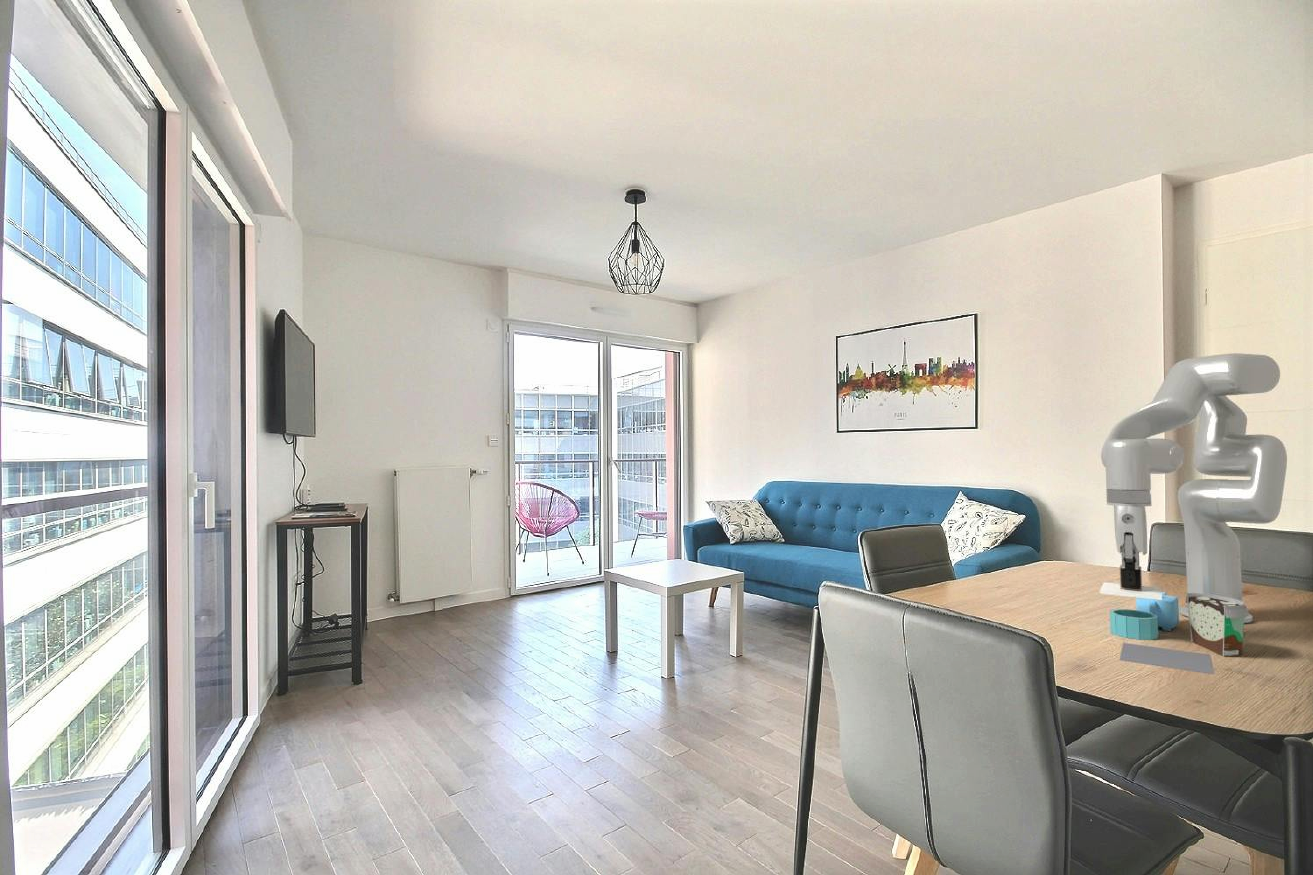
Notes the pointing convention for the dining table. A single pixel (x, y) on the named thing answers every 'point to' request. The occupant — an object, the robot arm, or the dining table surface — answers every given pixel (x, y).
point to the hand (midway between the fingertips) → (1131, 585)
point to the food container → (1217, 623)
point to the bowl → (1134, 624)
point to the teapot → (1161, 610)
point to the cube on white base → (1132, 590)
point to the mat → (1167, 658)
